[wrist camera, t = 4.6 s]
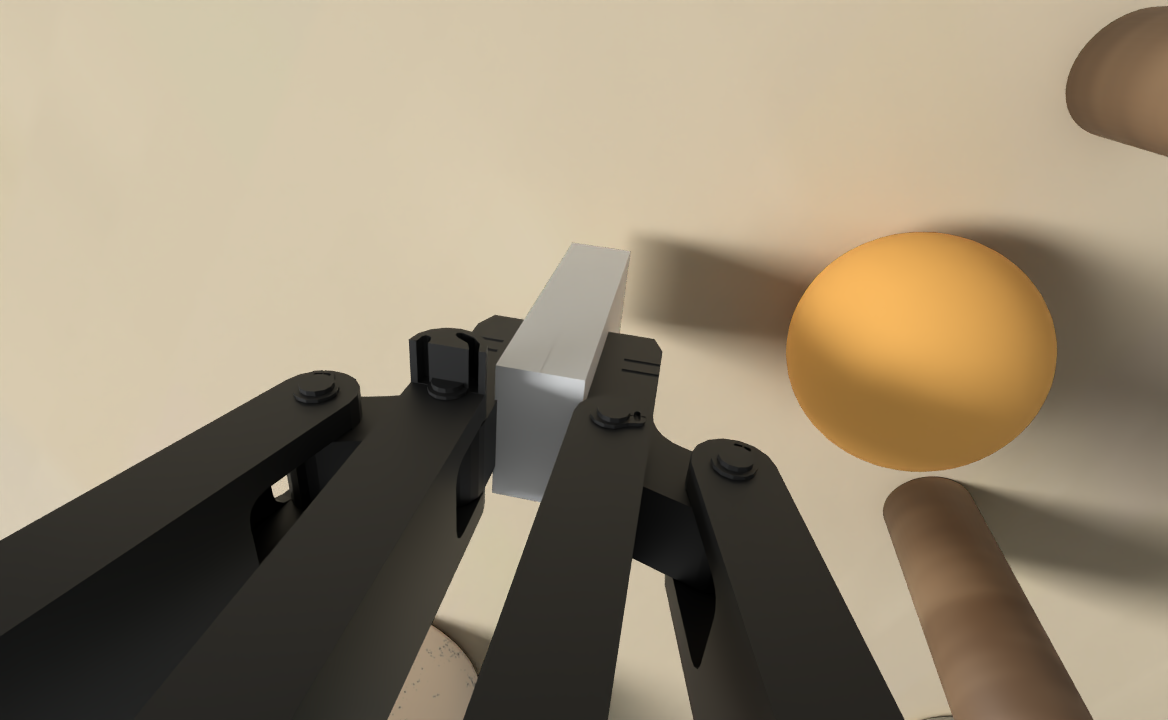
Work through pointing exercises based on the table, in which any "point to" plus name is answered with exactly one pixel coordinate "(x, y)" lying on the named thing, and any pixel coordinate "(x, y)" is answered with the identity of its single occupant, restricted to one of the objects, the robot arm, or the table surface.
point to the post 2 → (1124, 81)
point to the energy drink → (941, 718)
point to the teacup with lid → (436, 682)
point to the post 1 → (975, 610)
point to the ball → (921, 351)
